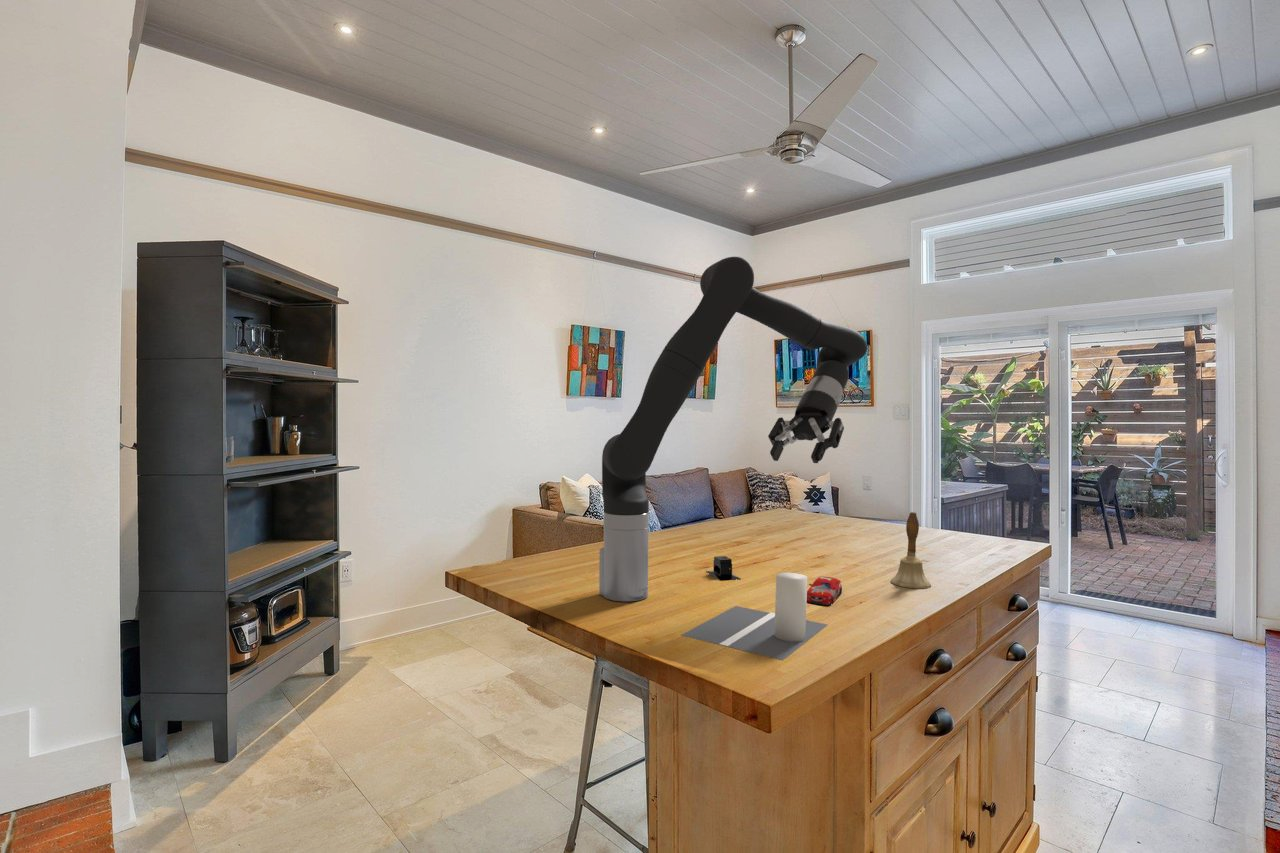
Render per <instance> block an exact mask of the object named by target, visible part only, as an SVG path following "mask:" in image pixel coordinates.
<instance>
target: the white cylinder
mask: <svg viewBox="0 0 1280 853" xmlns="http://www.w3.org/2000/svg"><path fill="white" fill-rule="evenodd" d="M807 591H808V576H807V575H804V574H801V573H796V572H779V573H777V574H776V575H775V605H774V607H775V608H774V613H775V634H774V635H775V637H776V638H778V639H780V640H783V641H789V642H800V641H803V640H805V638H806V620H807V605H808V604H807V603H808V602H807Z"/></svg>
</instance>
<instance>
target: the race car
mask: <svg viewBox="0 0 1280 853" xmlns="http://www.w3.org/2000/svg"><path fill="white" fill-rule="evenodd" d="M808 585H809V586H810V587H809V589H807V603H811V604H814V605H823V606H825V605H827V606H832V605H833V603H834V602H835V601H836V600H837V599H838V598H839V597H840V596H841V595H842V593H843V585H842V581H841V580H840V579H838V578H835V577H830V576H819V577H817V578H816V579H815V580H814V581H813V582H812V583H809V584H808ZM831 604H832V605H831Z"/></svg>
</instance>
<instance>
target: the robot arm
mask: <svg viewBox="0 0 1280 853" xmlns="http://www.w3.org/2000/svg"><path fill="white" fill-rule="evenodd" d="M699 282H700V283H699V286H700V291H701V293H702V297H701V300H700V301H699V304H698V305H697V307H696V308H695V310H694V311H693V312H692V313H691V315H690V316H689V317H688V318H687V320H686V321H685V322H684V323H683V324H682V325H681V326H680V327H679V329H677V331H676V332H675V333H674V334H673V336H671V338H670V339H669V341H667V343H666V345H665V347H664V348H663V349H662V351H661V353H660V355H659V356H658V358H657V360H656V361H655V363H654V365H653V367H652V369H651V372H650V374H649V376H648V379H647V381H646V384H645V387H644V390H643V393H642V397H641V399H640V402H639V404H638V407H637V408H636V410H635V412H634V413H633V415H632V416H631V417H630V420H629V421H628V422H627V424H626V426H625V427H624V428H623V430H622V431H621V432H620V433H618V434H616V435H613V436H612V437H611V438H609V439H608V440H607V442H606V443H605V445H604V446H603V449H602V456H601V487H602V489H601V490H602V499H603V547H601V548H599V556H598V558H599V563H598V564H599V572H598V574H599V578H598V579H599V582H598V583H599V584H598V585H599V587H598V589H599V590H598V594H599V595H600V596H602V597H604V598H605V599H607V600H610V601H615V602H636V601H642V600H644V599H646V598H648V597H649V532H650V531H649V523H650V522H649V512H650V510H649V509H650V508H649V507H650V506H649V502H650V500H649V498H648V493H647V485H646V484H647V483H646V477H647V476H646V474H647V472H648V470H650V467H651V466H652V463H653V461H654V458H655V457H656V455H657V452H658V450H659V448H660V445H661V443H662V441H663V438H664V436H665V434H666V432H667V431H668V430H667V429H668V428H669V426H670V425H671V423H672V421H673V419H674V418H675V417H676V415H677V414H678V412H679V410H680V409H681V408H682V406H683V404H684V403H685V401H686V399H687V398H688V397H689V395H690V393H691V392H692V390H693V388H694V387H695V385H696V384H697V382H698V380H699V378H700V376H701V375H702V372H703V371H704V369H705V367H706V365H707V363H708V361H709V359H710V358H711V356H712V355H713V353H714V350H715V348H716V347H717V345H718V343H719V341H720V339H721V337H722V335H723V333H724V331H725V330H726V328H727V326H728V324H729V323H730V322H731V321H732V319H733V317H734V316H735V314H736V313H738V314H741V315H742V316H745V317H747V318H749V319H752V320H754V321H756V322H758V323H760V324H762V325H763V326H766V327H767V328H769V329H772V330H774V331H775V332H777V333H778V334H781V336H784V337H786V338H788V339H789V340H791V341H792V342H794V343H795V344H797V345H800V346H801V347H803V348H804V349H807V350H809V351H810V350H811V351H815V350H817V349H820V350H819V352H818V355H817V358H816V359H817V360H816V369H815V371H814V373H813V375H812V378H811V380H810V382H809V384H808V385H807V386H806V387H805V390H804V392H803V394H802V396H801V398H800V400H799V402H798V404H797V406H796V408H795V412H794V416H793V417H792V418H791V419H790V420H784V418H783V417H779V418H777V419H776V421H775V423H774V424H773V427H772V429H771V430H770V432H769V434H768V436H767V437H768V440H769V441H770V443H771V445H772V447H771V449H770V451H769V455H770V456H771V457H772V460H773V462H774V461H775V462H778V461H779V459H780V458H781V455H782V453H783V451H784V448H785V447H786V446H788V445H789V444H791V445H792V444H794V443H796V442H797V441H804V440H805V441H814V440H817V442H816V443H815V445H814V448H813V450H812V452H811V455H810V458H811V461H812V463H813V464H819V462H820V461H822V460H823V457H824V456H825V453H826V451H827V450H829V448H832V449H837V448H838V447H839V446H840V442H841V438H842V435H843V432H844V431H845V430H844V429H845V427H844V424H843V421H842V419H841V418H840V417H836V418H835V419H834V416H835V414H836V413H837V409H838V407H839V406H840V403H841V401H842V400H841V399H842V395H843V393H844V390H845V388H846V386H847V384H848V381H849V377H850V375H849V374H850V373H849V370H848V367H850V366H851V365H853V364H855V363H857V362H858V361H859V360H862V358H864V357H865V355H866V354H867V352H868V344H867V341H866V339H865V338H864V336H863V335H862V334H861V333H860V332H858V330H856V329H853V328H851V327H848V326H844V325H841V324H838V323H835V322H830V321H825V320H823V319H821V318H819V316H817V315H815V314H813V313H811V312H810V311H808V310H807V309H805V308H803V307H802V306H800V305H799V306H798V305H796V304H794V303H791V302H788V301H785V300H783V299H779V298H777V297H774V296H770V295H769V294H766V293H764V292H762V291H760V290H758V289H756V288H755V287H754V283H755V272H754V269H753V266H752V265H751V263H750V261H748V260H747V259H745V258H744V257H741V256H727V257H725V258H722V259H720V260H719V261H716V262H715V263H713V264H711V265H710V266H708V267H707V268H706V269H705V270H704V271H703V273H702V275H701V277H700V281H699ZM833 419H834V420H833ZM830 429H831V430H830ZM829 430H830V433H829V436H828V437H826V438H825V436H824V434H825V433H826V432H827V431H829ZM791 432H792V434H793V436H792V434H791Z"/></svg>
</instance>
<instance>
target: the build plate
mask: <svg viewBox="0 0 1280 853" xmlns="http://www.w3.org/2000/svg"><path fill="white" fill-rule="evenodd" d="M732 560H733V559H732V558H730V557H728V556H726V555H720V556H719V555H717V556H713V570H705V571H706V572H705V573H707V574H708V573H709V574H708V575H710V576H711V575H712V576H711V577H713V578H715V579H716V580H718V581H719V582H727V581H738V580H739V581H741V579H742V578H741V577H739V576H738V575H736V574H734V573H733V563H732V562H733V561H732ZM736 579H737V580H736Z"/></svg>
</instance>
